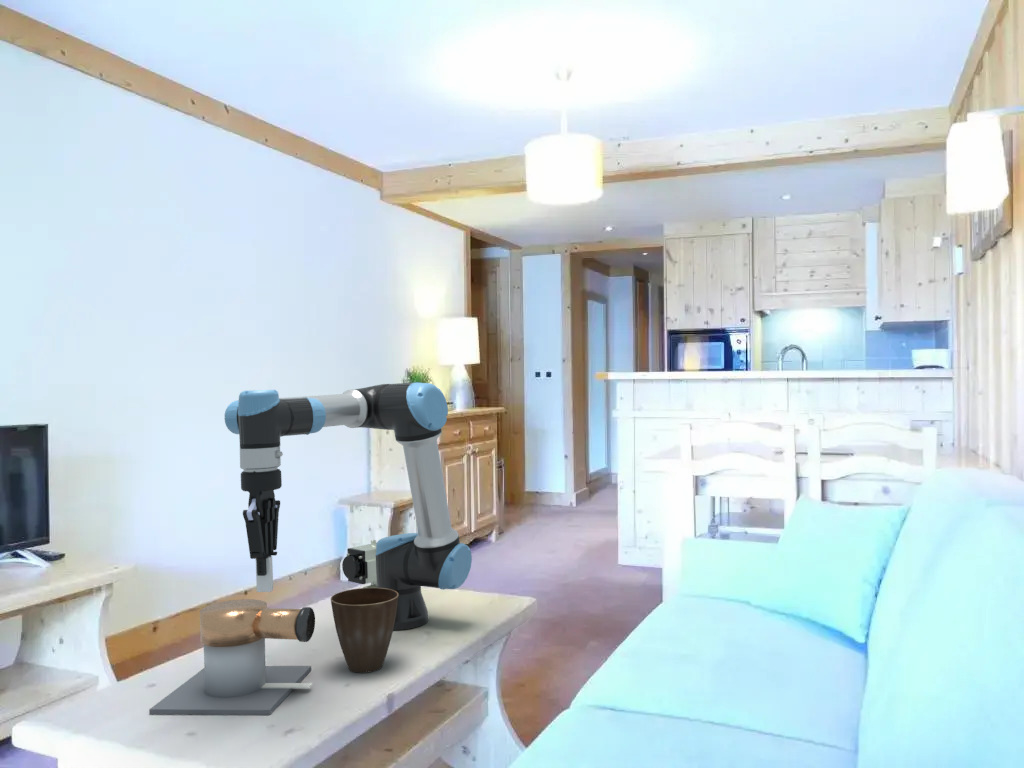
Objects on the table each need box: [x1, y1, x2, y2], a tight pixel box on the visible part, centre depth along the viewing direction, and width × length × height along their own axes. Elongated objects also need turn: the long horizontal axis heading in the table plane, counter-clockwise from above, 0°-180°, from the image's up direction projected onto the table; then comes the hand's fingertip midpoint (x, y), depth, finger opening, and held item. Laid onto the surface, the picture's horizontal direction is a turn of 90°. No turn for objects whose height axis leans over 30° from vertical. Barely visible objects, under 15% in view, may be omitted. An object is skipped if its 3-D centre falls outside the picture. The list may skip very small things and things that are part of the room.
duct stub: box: [148, 638, 314, 716], centre depth 163 cm, size 28×24×11 cm
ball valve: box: [341, 539, 377, 588], centre depth 232 cm, size 18×8×18 cm, turn 138°
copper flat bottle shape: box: [199, 598, 316, 647], centre depth 162 cm, size 23×13×7 cm, turn 79°
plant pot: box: [330, 587, 398, 674], centre depth 175 cm, size 15×15×16 cm
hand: (265, 590), depth 152 cm, fingers closed
